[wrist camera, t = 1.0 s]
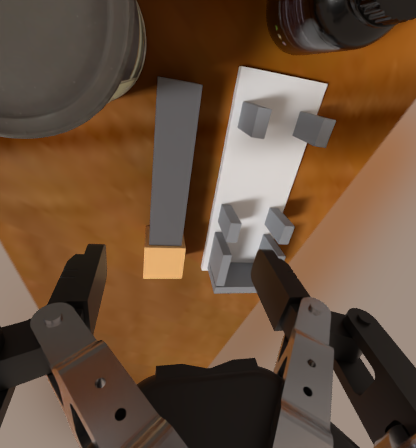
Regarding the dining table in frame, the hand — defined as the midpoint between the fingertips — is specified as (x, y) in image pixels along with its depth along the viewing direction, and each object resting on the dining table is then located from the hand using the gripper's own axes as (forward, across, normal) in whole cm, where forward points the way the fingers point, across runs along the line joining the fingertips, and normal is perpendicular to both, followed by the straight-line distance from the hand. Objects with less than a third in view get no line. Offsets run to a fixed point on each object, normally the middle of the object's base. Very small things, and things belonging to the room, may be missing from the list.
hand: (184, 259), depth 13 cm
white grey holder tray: (+16, -10, +2) cm, 19 cm away
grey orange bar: (+16, 0, +2) cm, 16 cm away
